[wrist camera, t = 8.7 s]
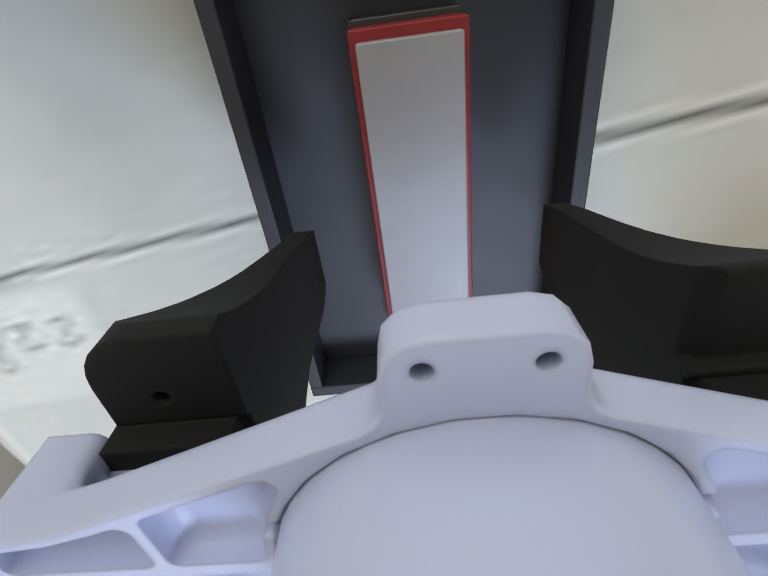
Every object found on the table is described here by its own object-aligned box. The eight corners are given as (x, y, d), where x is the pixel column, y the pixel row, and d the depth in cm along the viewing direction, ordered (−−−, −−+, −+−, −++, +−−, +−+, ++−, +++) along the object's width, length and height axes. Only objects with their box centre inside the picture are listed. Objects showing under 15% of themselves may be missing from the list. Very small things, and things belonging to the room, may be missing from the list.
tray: (545, 341, 23) (561, 375, 21) (319, 362, 24) (313, 396, 22) (595, -120, 13) (636, -142, 11) (204, -57, 14) (172, -67, 12)
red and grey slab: (463, 315, 21) (480, 381, 18) (391, 322, 22) (392, 388, 18) (455, 2, 14) (480, 2, 11) (347, 18, 15) (335, 23, 11)
